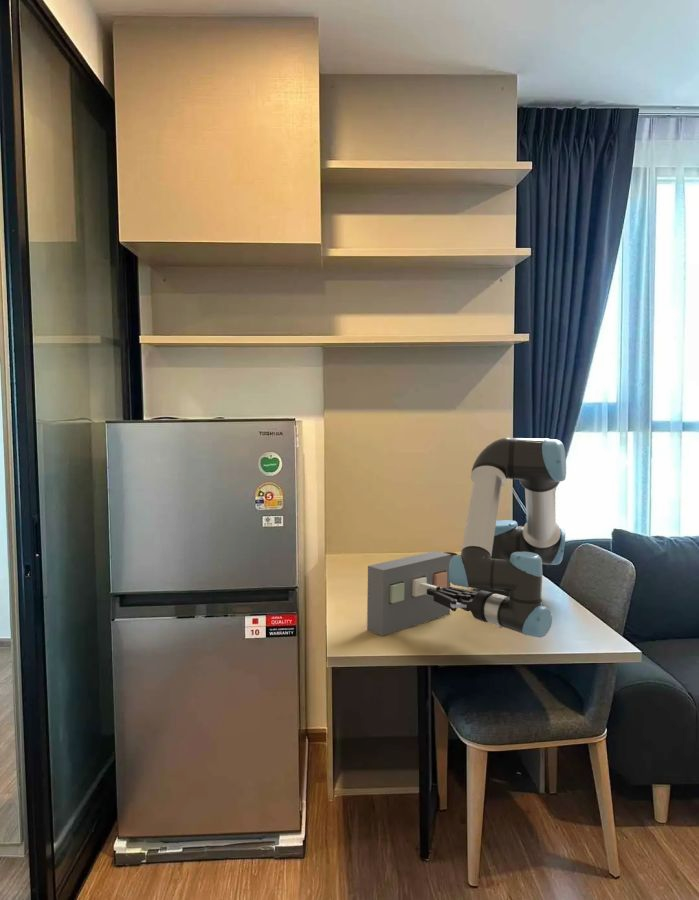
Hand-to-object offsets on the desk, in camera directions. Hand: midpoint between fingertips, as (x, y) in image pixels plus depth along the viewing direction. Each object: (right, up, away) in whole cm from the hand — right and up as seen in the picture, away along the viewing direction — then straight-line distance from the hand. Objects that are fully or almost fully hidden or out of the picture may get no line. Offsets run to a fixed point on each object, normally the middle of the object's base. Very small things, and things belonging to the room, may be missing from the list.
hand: (421, 587), depth 185 cm
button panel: (-2, -11, +3) cm, 11 cm away
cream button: (-2, -2, +2) cm, 4 cm away
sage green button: (-9, -2, -4) cm, 10 cm away
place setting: (+22, -7, +70) cm, 73 cm away
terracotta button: (+5, -2, +8) cm, 10 cm away
